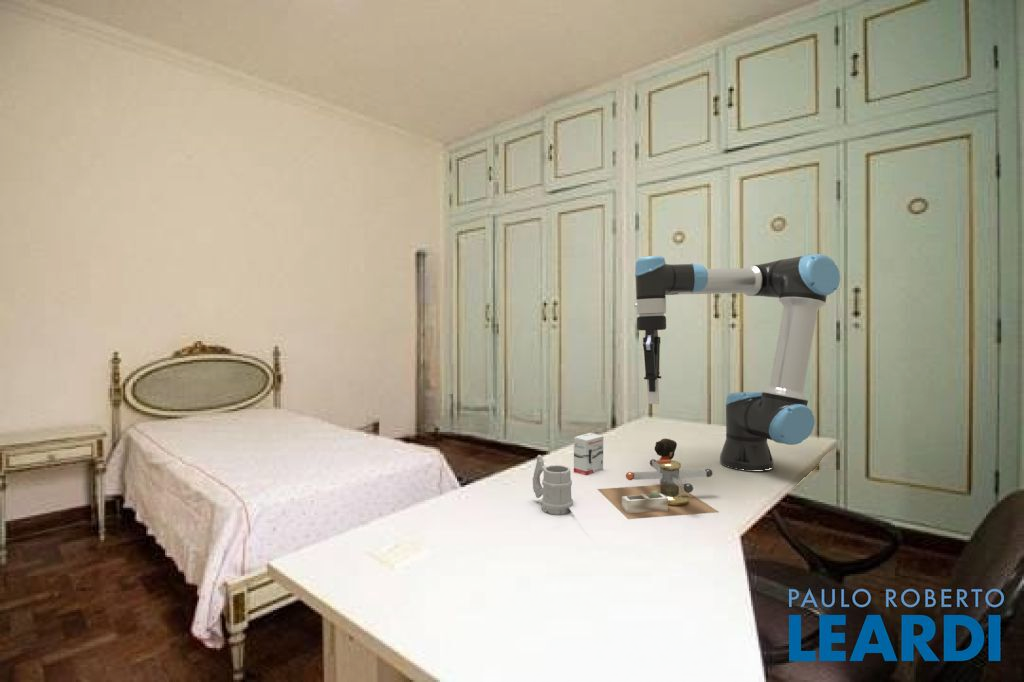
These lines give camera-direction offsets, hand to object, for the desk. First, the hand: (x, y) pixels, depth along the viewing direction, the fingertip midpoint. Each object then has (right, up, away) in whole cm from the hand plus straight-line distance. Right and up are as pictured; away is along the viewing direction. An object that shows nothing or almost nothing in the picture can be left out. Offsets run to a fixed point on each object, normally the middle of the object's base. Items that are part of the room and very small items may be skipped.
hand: (653, 403), depth 130 cm
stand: (-3, -24, -11) cm, 26 cm away
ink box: (-15, -23, +13) cm, 31 cm away
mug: (-28, -24, -11) cm, 39 cm away
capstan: (+1, -22, -10) cm, 24 cm away
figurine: (+6, -23, +8) cm, 25 cm away
